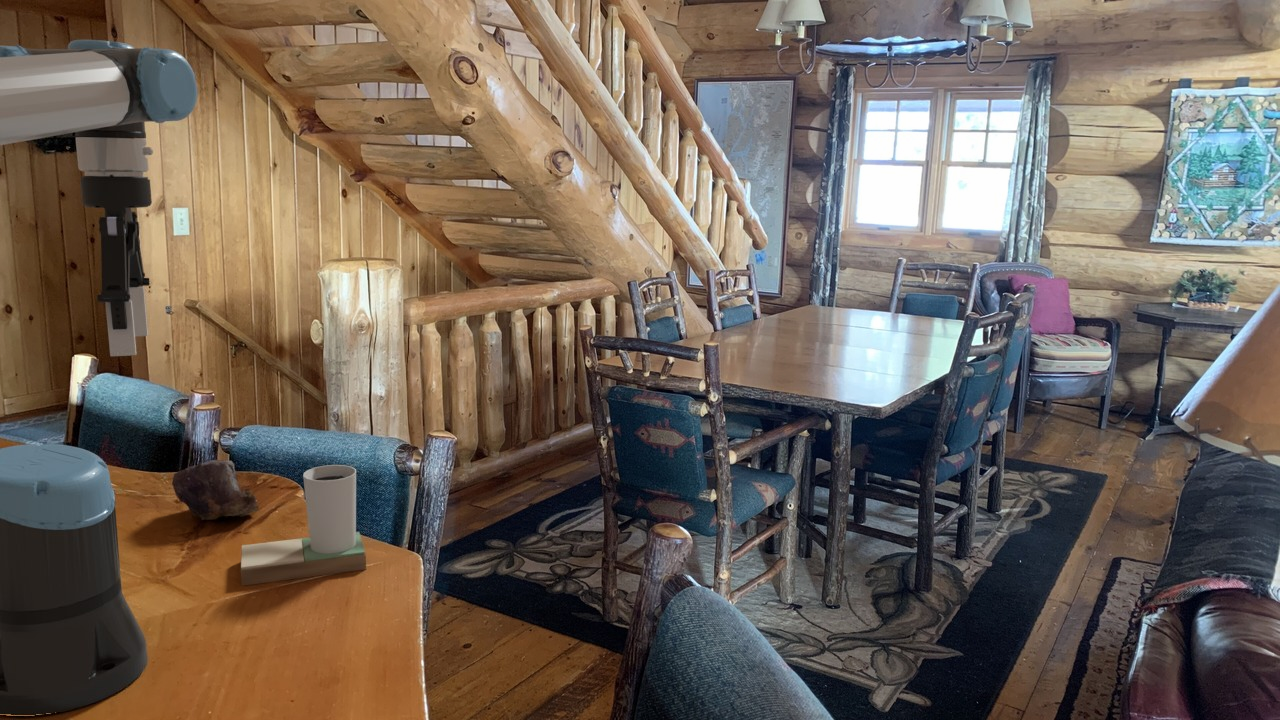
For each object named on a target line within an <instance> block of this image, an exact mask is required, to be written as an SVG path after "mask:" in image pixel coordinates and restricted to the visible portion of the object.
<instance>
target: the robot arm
mask: <svg viewBox="0 0 1280 720" xmlns="http://www.w3.org/2000/svg"><path fill="white" fill-rule="evenodd" d="M197 101H198V87H197V82H196V75H195V73H194V70H193V68H192V66H191V64H190V63H189V62H188V60H187V59H186V58H185V57H184V56H183V55H182V54H180V53H179V52H177V51H175V50H173V49H168V48H154V47H151V46H147V47H141V48H137V47H136V48H135V47H134V46H132V45H130V44H128V43H124V42H120V41H110V40H109V41H108V40H98V39H75V40H74V39H73V40H72V41H70V42H69V43H68V45H67V48H57V49H56V48H50V49H49V48H48V49H47V48H46V49H44V48H43V49H42V48H41V49H37V48H26V47H23V46H21V45H10V46H9V45H0V146H4V145H10V144H15V143H21V142H24V141H25V142H27V141H33V140H38V139H44V138H50V137H54V136H61V135H66V134H71V133H72V134H73V133H75V146H76V157H77V166H78V167H77V168H78V170H79V171H80V172H84V176H83V175H82V176H81V178H80V179H79V182H80V184H79V185H80V192H81V193H80V194H81V200H82V201H81V202H82V205H83V206H84V207H86V208H94V209H95V208H97V209H98V208H100V209H101V208H103V209H104V216H100V217H99V219H98V224H99V226H98V227H99V229H98V230H99V234H100V245H101V247H100V254H101V255H100V256H101V292H100V294H96V296H97V303H105V304H104V305H105V315H106V322H107V323H106V324H107V335H108V345H109V355H110V357H123V356H124V357H126V356H128V357H129V356H130V357H131V356H137V345H136V344H137V343H136V337H148V336H149V331H148V330H149V329H148V328H149V327H148V317H147V307H146V298H145V297H146V295H145V287H148V286H150V278H149V277H146V272H145V270H144V265H143V257H142V249H141V240H140V229H141V228H140V222H139V221H137V219H138V214H137V213H136V211H132V209H134V208H135V209H137V208H139V209H140V208H148V207H150V206H151V205H152V203H153V201H152V190H151V180H150V179H149V177H148V176H144V173H146V172H147V173H148V171H149V170H150V169H149V160H148V157H147V156H152V155H153V154H154V150H153V149H152V147H149V146H146V145H147V133H146V127H145V125H146V122H152V123H153V122H155V123H157V124H163V123H165V122H179V121H182V120H183V119H186V118H187V117H189V116H190V115H191V113H192V112H193V111H194V109H195V107H196V104H197ZM115 495H116V493H115V491H114V489H113V487H112V481H111V476H110V470H109V467H108V465H107V464H106V462H105V461H104V460H103V458H101V457H100V456H99V455H97V454H95V453H94V452H92V451H90V450H86V449H84V448H80V447H77V446H72V445H67V444H57V443H46V444H43V445H38V444H35V443H29V444H27V443H26V444H19V445H12V446H6V447H3V448H2V447H1V448H0V714H11V715H36V714H46V713H55V712H60V713H64V712H68V711H73V710H75V708H76V709H79V708H81V707H84V706H89V705H92V704H93V703H96V702H99V701H101V700H104V699H106V698H108V697H110V696H113V695H114V694H116V693H117V692H120V691H121V690H124V689H125V688H126V687H127V686H129V685H130V684H132V683H133V682H134V681H135V680H137V678H139V677H140V676H141V674H142V673H143V672H144V671H145V669H146V667H147V665H148V660H149V659H148V649H147V648H148V647H147V640H146V637H145V635H144V633H143V631H142V629H141V628H142V627H140V625H139V623H138V621H137V618H136V617H135V615H134V613H133V611H132V609H131V608H130V605H129V603H128V602H127V600H126V597H124V593H123V589H122V588H123V587H122V579H121V566H120V563H121V562H120V551H119V537H118V528H117V527H118V526H117V514H116V513H117V512H116V511H117V509H116V499H115V497H116V496H115ZM55 714H56V713H55Z"/></svg>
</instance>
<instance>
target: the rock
mask: <svg viewBox="0 0 1280 720" xmlns="http://www.w3.org/2000/svg"><path fill="white" fill-rule="evenodd" d="M172 477H173V478H172V482H171V486H172V487H173V491H174V493H175V496H176V497H177V498H178V500H179V501H180V502H182V503H184V504H185V505H186V506H187V508H188V509H189V512H190V514H192V515H193V516H194V517H196V518H200V520H202V521H203V520H204V521H205V520H206V521H209V520H217V519H218V518H220V517H228V516H232V517H235V516H237V517H240V518H242V517H241V516H243V517H245V516H248V515H250V514H252V513H254V512H256V511H259V509H260V507H259V505H258V504H257V498H256V496H255V495H254V494H253V493H252V492H251V491H250V490H248V489H242V490H241V487H240V484H239V481H238V480H239V479H238V474H237V471H236V470H235V463H234V462H233V461H232V460H224V459H222V460H221V459H218V460H217V459H212V460H208V461H205V462H201V463H199V464H197V465H191V466H189V467H186V468H185V469H182V470H178V471H177V472H176V473H173V476H172Z"/></svg>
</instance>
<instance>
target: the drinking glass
mask: <svg viewBox="0 0 1280 720" xmlns="http://www.w3.org/2000/svg"><path fill="white" fill-rule="evenodd" d="M302 478H303V486H304V496H305V497H304V498H305V506H306V515H307V517H306V518H307V524H308V526H307V527H308V535H309V537H310V546H311V549H312V550H313V551H314V552H318V553H325V554H331V553H339V552H343V551H347V550H349V549H351V548H353V547H354V546H355V545H356V532H357V469H356V468H354V467H353V466H349V465H344V464H330V465H322V466H321V465H320V466H316V467H315V466H314V467H313V468H310V469H307V470H306V471H305V472H303V477H302ZM309 537H308V538H309Z"/></svg>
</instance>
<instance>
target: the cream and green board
mask: <svg viewBox="0 0 1280 720" xmlns="http://www.w3.org/2000/svg"><path fill="white" fill-rule="evenodd" d="M360 533H361V532H360V531H356V545H355V546H354V547H353V548H351V549H349V550H347V551H343V552H339V553H331V554H325V553H318V552H314V551H313V550H312V549H311V546H310V537H304V538H303V537H301V538H295V539H294V538H293V539H284V540H278V541H277V540H276V541H268V542H260V543H258V542H257V543H251V544H242V545H241V555H240V578H241V579H240V580H241V586H248V585H256V584H257V585H258V584H265V583H273V582H280V581H287V580H295V579H303V578H311V577H312V578H313V577H317V576H325V575H326V576H327V575H333V574H341V573H349V572H356V571H357V572H358V571H362V570H363V571H364V570H365V571H366V570H367V555H366V554H367V553H366V551H365V547H364V543H363V540H362V536H361V534H360Z"/></svg>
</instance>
